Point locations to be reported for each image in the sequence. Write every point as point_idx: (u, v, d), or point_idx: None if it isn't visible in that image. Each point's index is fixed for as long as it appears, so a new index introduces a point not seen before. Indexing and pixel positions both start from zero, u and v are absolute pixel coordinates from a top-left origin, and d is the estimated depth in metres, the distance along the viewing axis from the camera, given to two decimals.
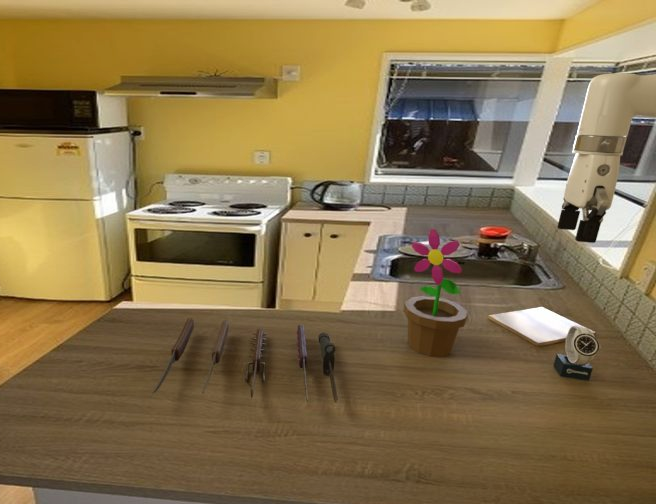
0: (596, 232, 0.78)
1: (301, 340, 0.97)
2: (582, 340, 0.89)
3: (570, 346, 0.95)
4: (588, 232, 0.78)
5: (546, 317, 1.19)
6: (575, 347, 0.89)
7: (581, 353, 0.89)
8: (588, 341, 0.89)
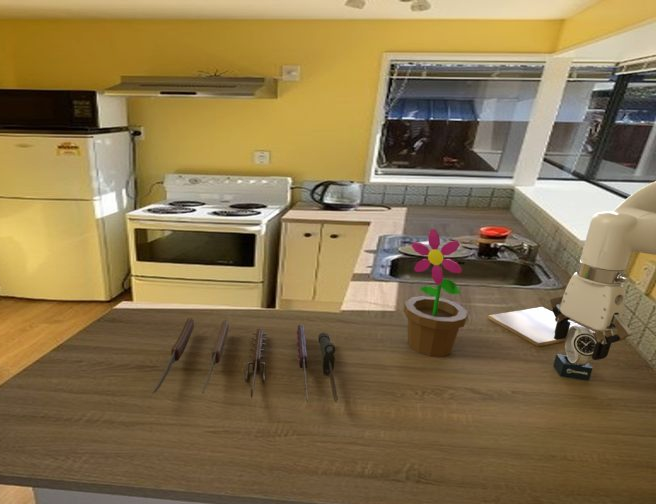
0: None
1: (301, 340, 0.97)
2: (582, 340, 0.89)
3: (570, 346, 0.95)
4: (604, 352, 0.87)
5: (546, 317, 1.19)
6: (575, 347, 0.89)
7: (581, 353, 0.89)
8: (588, 341, 0.89)
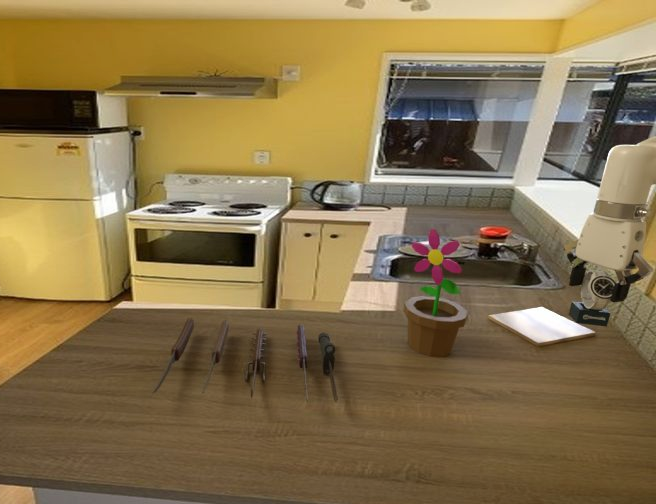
0: None
1: (301, 340, 0.97)
2: (600, 283, 0.85)
3: (586, 292, 0.91)
4: (624, 293, 0.83)
5: (546, 317, 1.19)
6: (592, 290, 0.85)
7: (598, 296, 0.85)
8: (606, 283, 0.85)
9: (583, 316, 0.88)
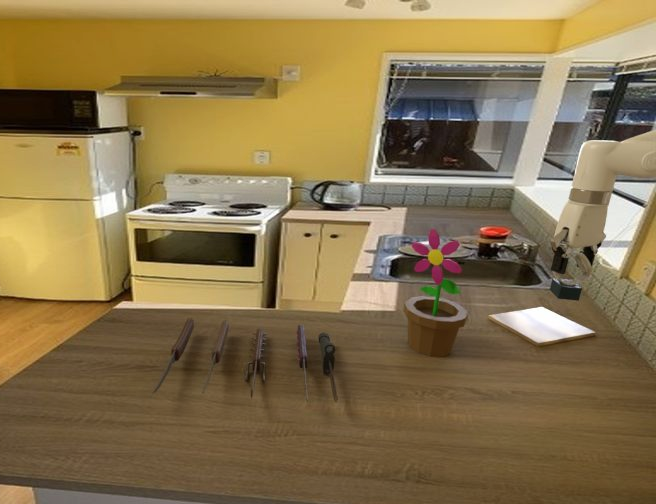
0: None
1: (301, 340, 0.97)
2: None
3: None
4: None
5: (546, 317, 1.19)
6: (591, 268, 0.97)
7: None
8: None
9: None
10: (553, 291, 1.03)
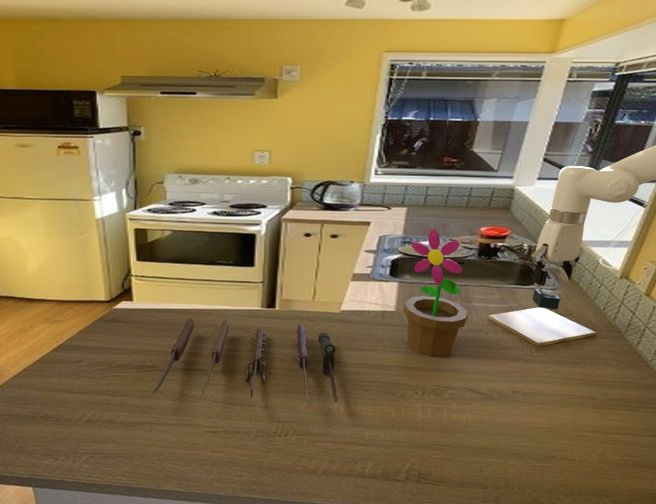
0: None
1: (301, 340, 0.97)
2: None
3: (539, 285, 1.12)
4: None
5: (546, 317, 1.19)
6: None
7: None
8: None
9: None
10: (535, 300, 1.14)
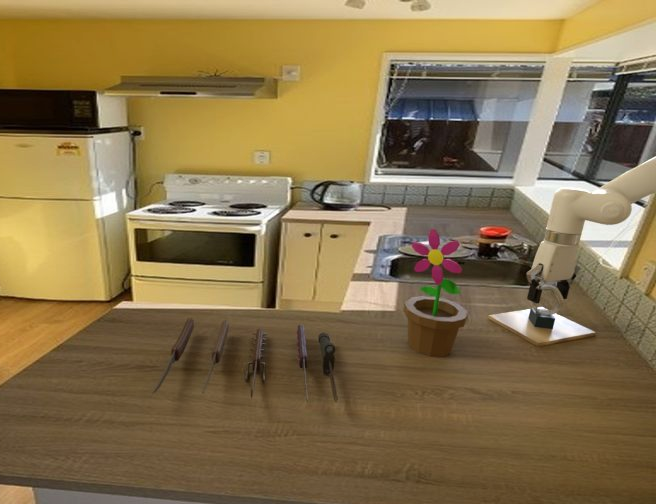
0: None
1: (301, 340, 0.97)
2: None
3: (535, 305, 1.14)
4: None
5: None
6: None
7: None
8: None
9: None
10: (531, 319, 1.16)
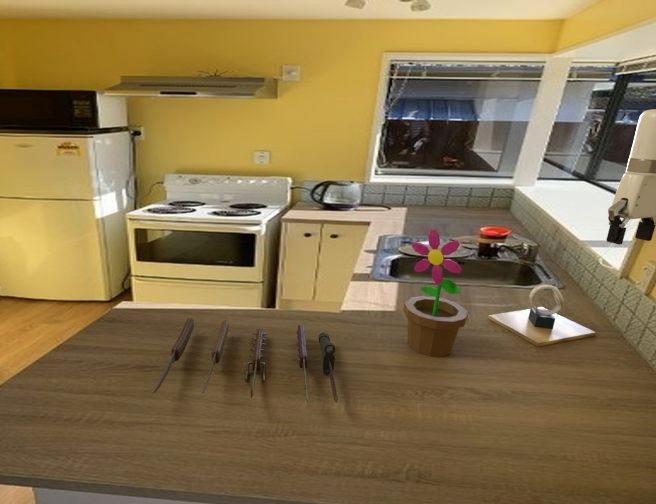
0: None
1: (301, 340, 0.97)
2: None
3: (535, 305, 1.14)
4: None
5: None
6: None
7: None
8: None
9: None
10: (531, 319, 1.16)
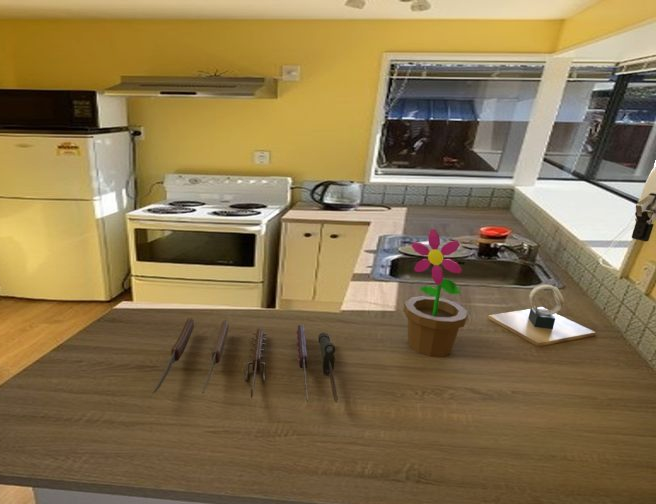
0: None
1: (301, 340, 0.97)
2: None
3: (535, 305, 1.14)
4: None
5: None
6: None
7: None
8: None
9: None
10: (531, 319, 1.16)
